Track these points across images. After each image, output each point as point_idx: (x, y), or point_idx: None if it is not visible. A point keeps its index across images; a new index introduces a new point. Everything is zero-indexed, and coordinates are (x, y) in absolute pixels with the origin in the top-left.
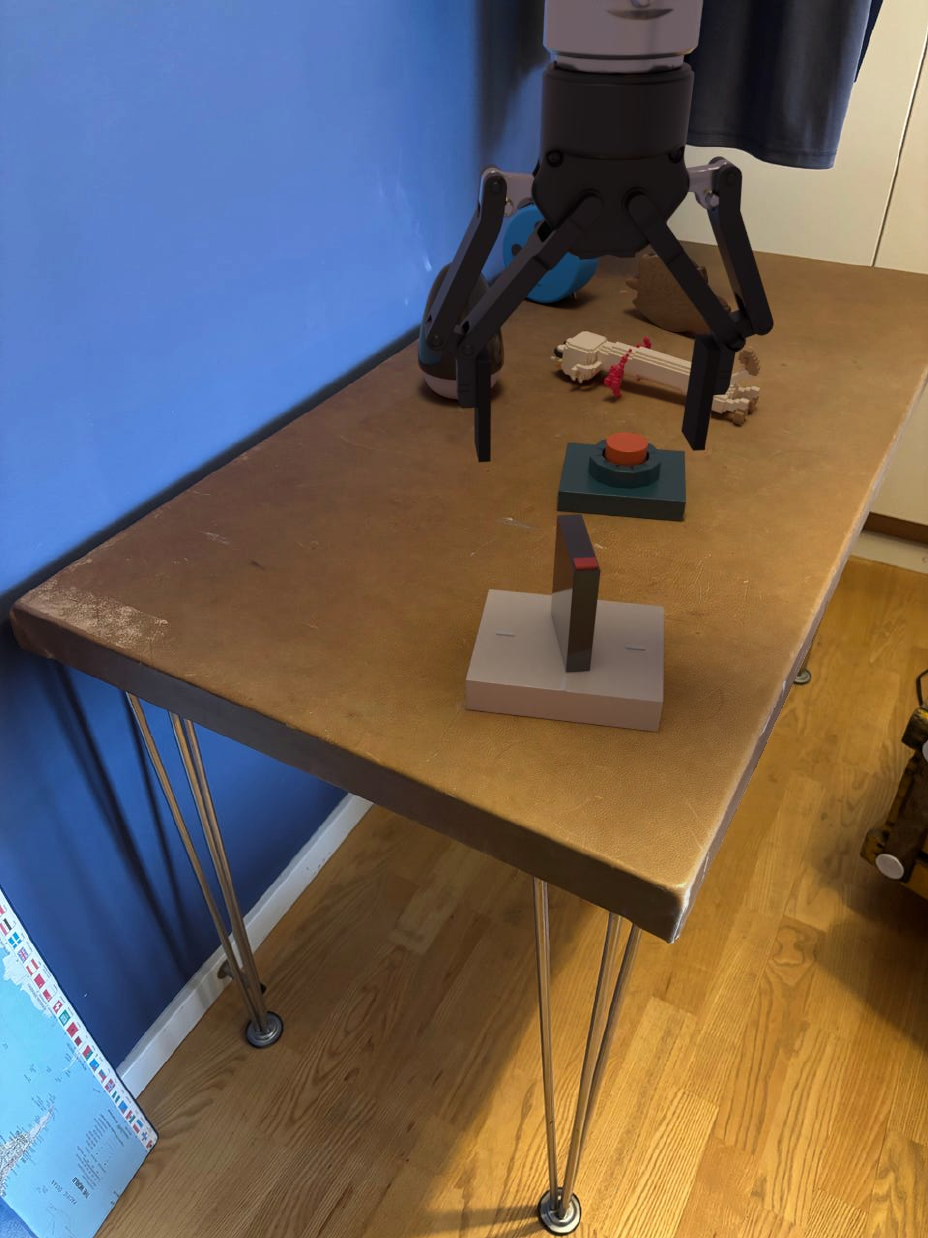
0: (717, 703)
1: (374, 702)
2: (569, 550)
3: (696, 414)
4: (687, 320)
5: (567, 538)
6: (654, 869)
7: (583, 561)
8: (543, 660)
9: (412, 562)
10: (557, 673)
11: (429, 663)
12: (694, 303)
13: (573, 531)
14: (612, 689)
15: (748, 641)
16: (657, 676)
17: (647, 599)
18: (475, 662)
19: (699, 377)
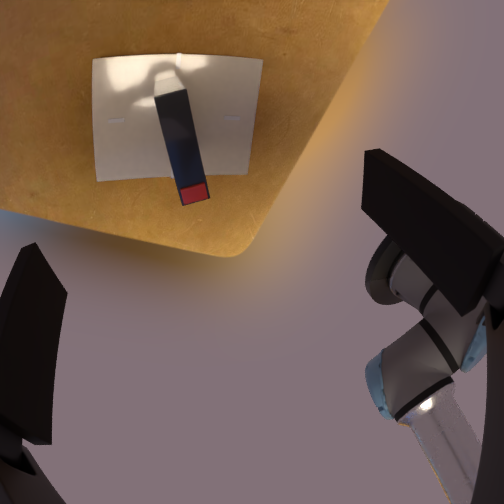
0: (284, 130)
1: (40, 179)
2: (174, 170)
3: (393, 229)
4: None
5: (170, 147)
6: (229, 254)
7: (191, 193)
8: (153, 146)
9: (24, 7)
10: (166, 159)
11: (62, 128)
12: (486, 404)
13: (176, 131)
14: (210, 167)
15: (320, 64)
16: (246, 148)
17: (248, 11)
18: (99, 161)
19: (433, 255)
